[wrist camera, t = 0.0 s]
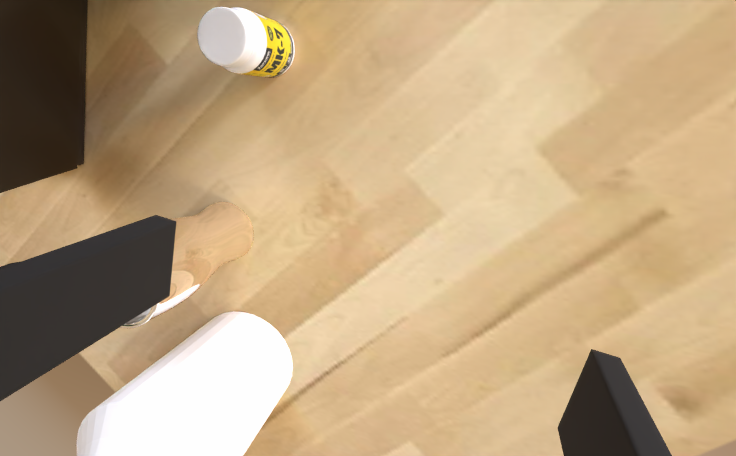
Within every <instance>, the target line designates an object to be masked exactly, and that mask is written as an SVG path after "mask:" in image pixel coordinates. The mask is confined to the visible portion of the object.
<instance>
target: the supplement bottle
mask: <svg viewBox="0 0 736 456" xmlns="http://www.w3.org/2000/svg"><path fill="white" fill-rule="evenodd" d="M197 36H198V43H199V46H200V49H201V51H202V53H203V54H204V55H205V57H206V58H207V59H208V60H210V61H211V62H212V63H214V64H217V65H220V66H222V67H223V68H225V69H226V70H228V71H230V72H233V73H237V74H245V75H253V76H261V77H269V78H271V77H277V76H280V75H282V74H283V73H285V72H286V71H287V70H288V69H289V68H290V66H291V64H292V62H293V59H294V54H295V46H294V41H293V38H292V36H291V34H290V32H289V31H288V30H287V28H286V27H285V26H283V25H282V24H280V23H279V22H277V21H274V20H272V19H269V18H267V17H264V16H262V15H260V14H257V13H255V12H252V11H250V10H248V9H244V8H238V7H234V8H226V7H216V8H213V9H211V10H209V11H208V12H207V13H205V15H204V16H203V17H202V19H201V21H200V23H199V26H198V33H197Z"/></svg>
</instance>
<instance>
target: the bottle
mask: <svg viewBox="0 0 736 456" xmlns="http://www.w3.org/2000/svg"><path fill="white" fill-rule="evenodd" d="M292 372H293V363H292V357H291V354H290V350H289V348H288V346H287V344H286V342H285V340H284V339H283V337H282V336H281V335H280V334H279V332H278V331H277V330H276V329H275V328H274V327H273V326H272V325H270V324H269V323H268V322H266V321H265V320H263V319H262V318H260V317H257V316H255V315H253V314H249V313H245V312H235V311H232V312H226V313H223V314H220V315H218V316H216V317H214V318H213V319H212V320H210V321H209V322H208V323H206V324H205V325H204V326H202V327H201V328H200V329H198V330H197V331H196V332H194V333H193V334H192V335H190V336H189V337H188V338H187V339H185V340H184V341H183V342H181V343H180V344H179V345H177V346H176V347H175V348H173V349H172V350H171V351H169V352H168V353H167V354H166V355H164V356H163V357H162V358H160V359H159V360H158V361H156V362H155V363H154V364H152V365H151V366H150V367H148V368H147V369H146V370H145V371H143V372H142V373H141V374H139V375H138V376H137V377H135V378H134V379H133V380H131V381H130V382H129V383H127V384H126V385H125V386H124V387H122V388H121V389H120V390H118V391H117V392H116V393H115V394H113V395H112V396H110V397H109V398H108V399H106V400H105V401H104V402H103V403H101V404H100V405H99V406H97V407H96V408H95V409H93V410H92V411H91V412H90V413H88V415H87V416H86V417H85V418H84V420H83V421H82V423H81V425H80V428H79V431H78V436H77V456H243V455H244V454H245V452H246V450H247V449H248V447H249V446H250V444H251V443H252V441H253V440H254V438H255V437H256V435H257V434H258V432H259V431H260V429H261V427H262V426H263V424H264V423H265V421H266V420H267V418H268V417H269V415H270V414H271V412H272V411H273V409H274V408H275V406H276V404H277V403H278V401H279V400H280V398H281V397H282V395H283V394H284V392H285V391H286V389H287V387H288V386H289V384H290V381H291V378H292Z"/></svg>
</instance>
